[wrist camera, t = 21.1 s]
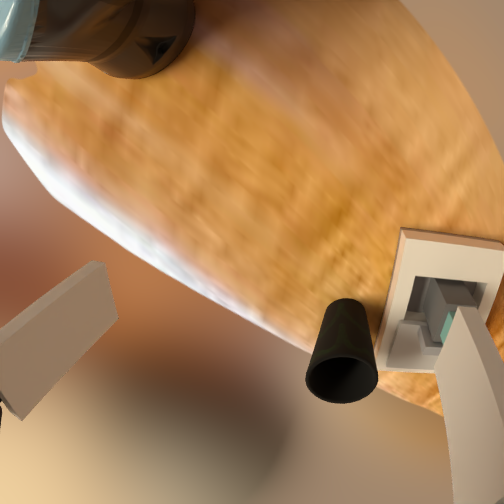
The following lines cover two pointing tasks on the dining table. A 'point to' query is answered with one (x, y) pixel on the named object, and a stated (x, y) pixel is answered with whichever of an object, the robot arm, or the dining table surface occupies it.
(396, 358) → the panel
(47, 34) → the robot arm
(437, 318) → the plug
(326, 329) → the cup
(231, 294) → the dining table surface
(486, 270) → the socket board
